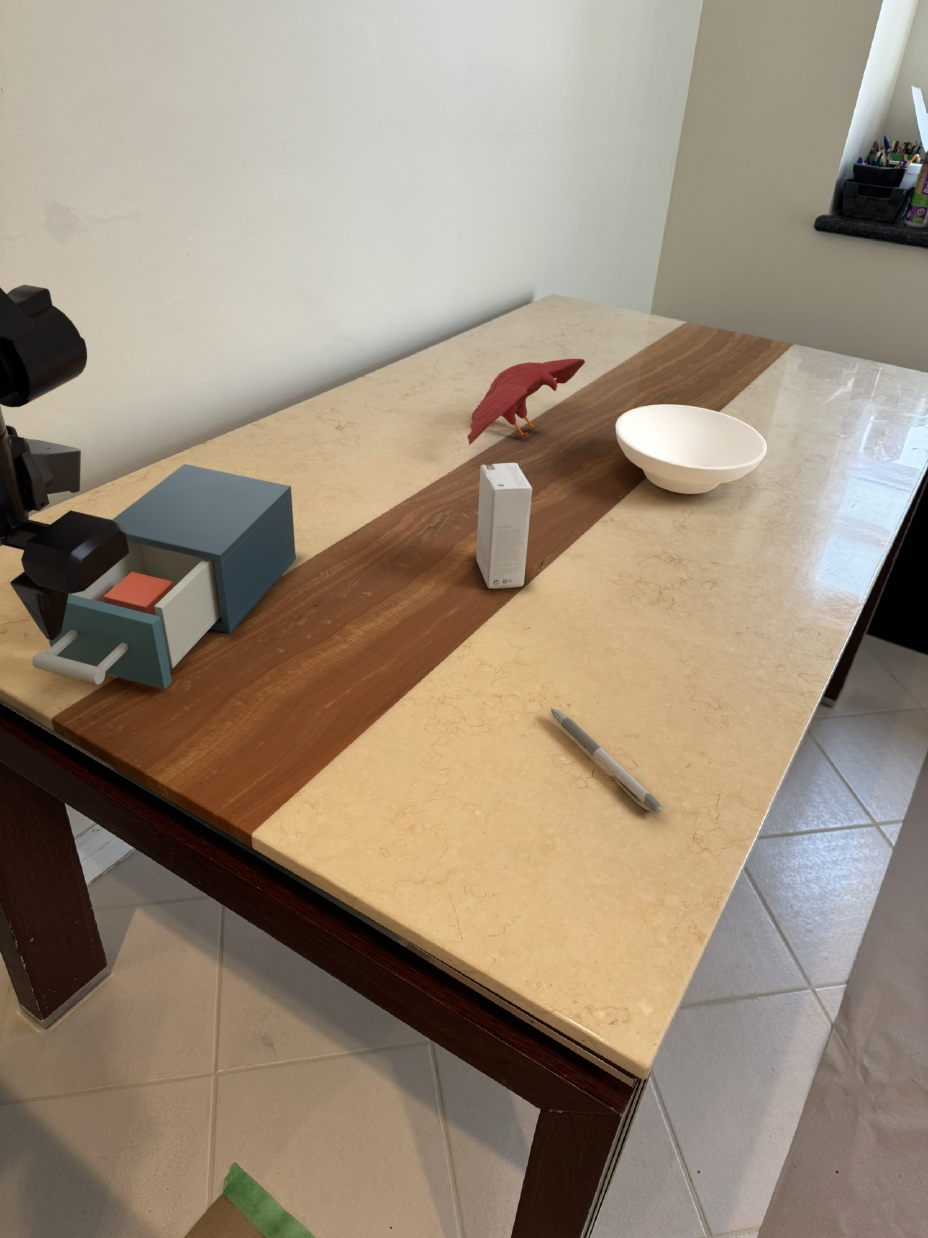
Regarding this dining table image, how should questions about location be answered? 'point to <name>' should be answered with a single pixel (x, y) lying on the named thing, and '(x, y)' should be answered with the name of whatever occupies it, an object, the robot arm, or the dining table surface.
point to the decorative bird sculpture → (519, 392)
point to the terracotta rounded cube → (138, 592)
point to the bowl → (689, 446)
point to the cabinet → (220, 531)
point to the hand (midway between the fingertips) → (17, 626)
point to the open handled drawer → (135, 622)
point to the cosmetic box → (503, 524)
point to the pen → (608, 763)
